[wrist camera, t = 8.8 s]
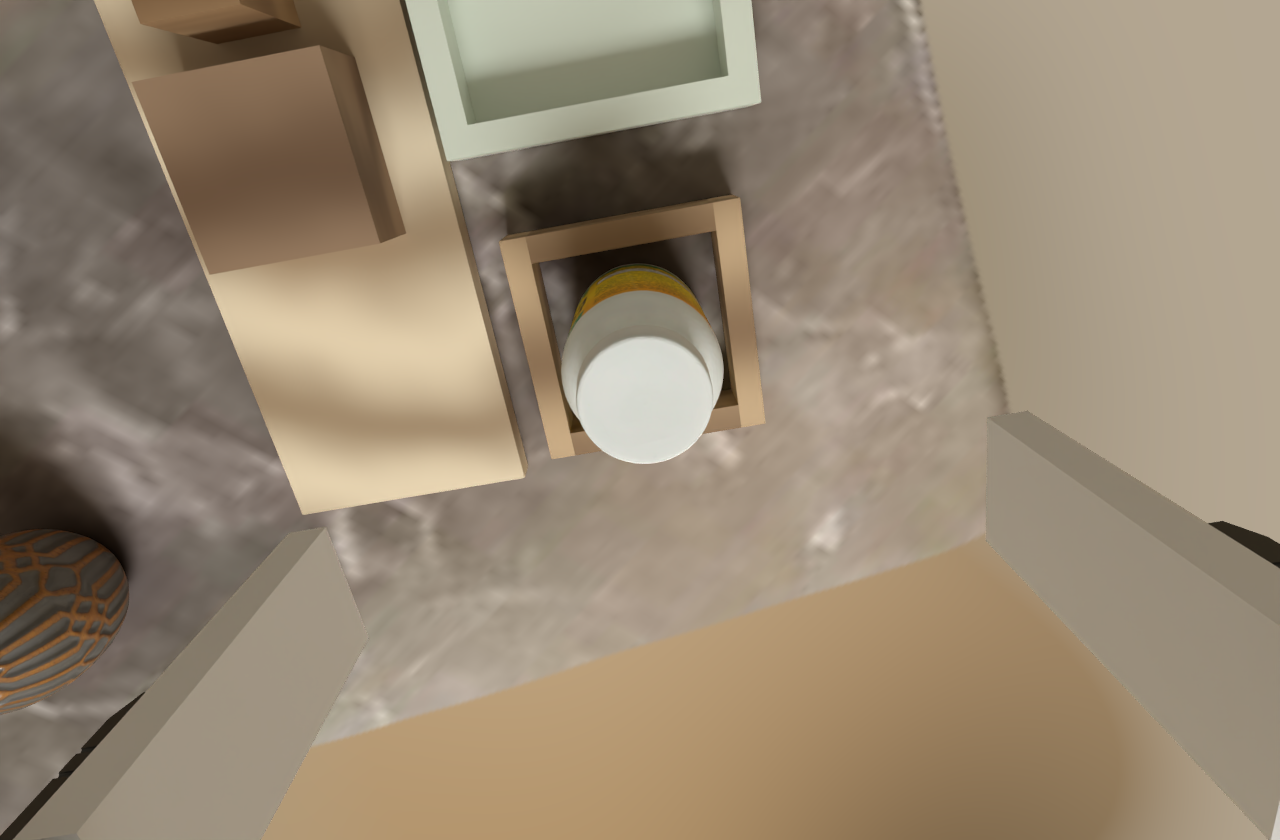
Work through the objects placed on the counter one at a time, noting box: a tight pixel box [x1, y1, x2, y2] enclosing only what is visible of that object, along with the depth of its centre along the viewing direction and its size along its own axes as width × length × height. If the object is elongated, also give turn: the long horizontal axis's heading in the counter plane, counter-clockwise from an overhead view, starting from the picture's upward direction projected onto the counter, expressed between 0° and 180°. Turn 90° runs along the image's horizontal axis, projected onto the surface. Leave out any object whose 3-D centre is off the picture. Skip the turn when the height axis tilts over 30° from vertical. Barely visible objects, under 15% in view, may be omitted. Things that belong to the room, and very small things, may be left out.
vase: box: [0, 529, 129, 715], centre depth 28 cm, size 7×7×9 cm
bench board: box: [94, 0, 528, 515], centre depth 24 cm, size 23×10×5 cm, turn 10°
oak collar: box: [499, 195, 765, 459], centre depth 28 cm, size 9×9×2 cm
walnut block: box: [132, 45, 406, 275], centre depth 23 cm, size 6×6×3 cm
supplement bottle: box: [561, 263, 724, 464], centre depth 24 cm, size 5×5×10 cm
